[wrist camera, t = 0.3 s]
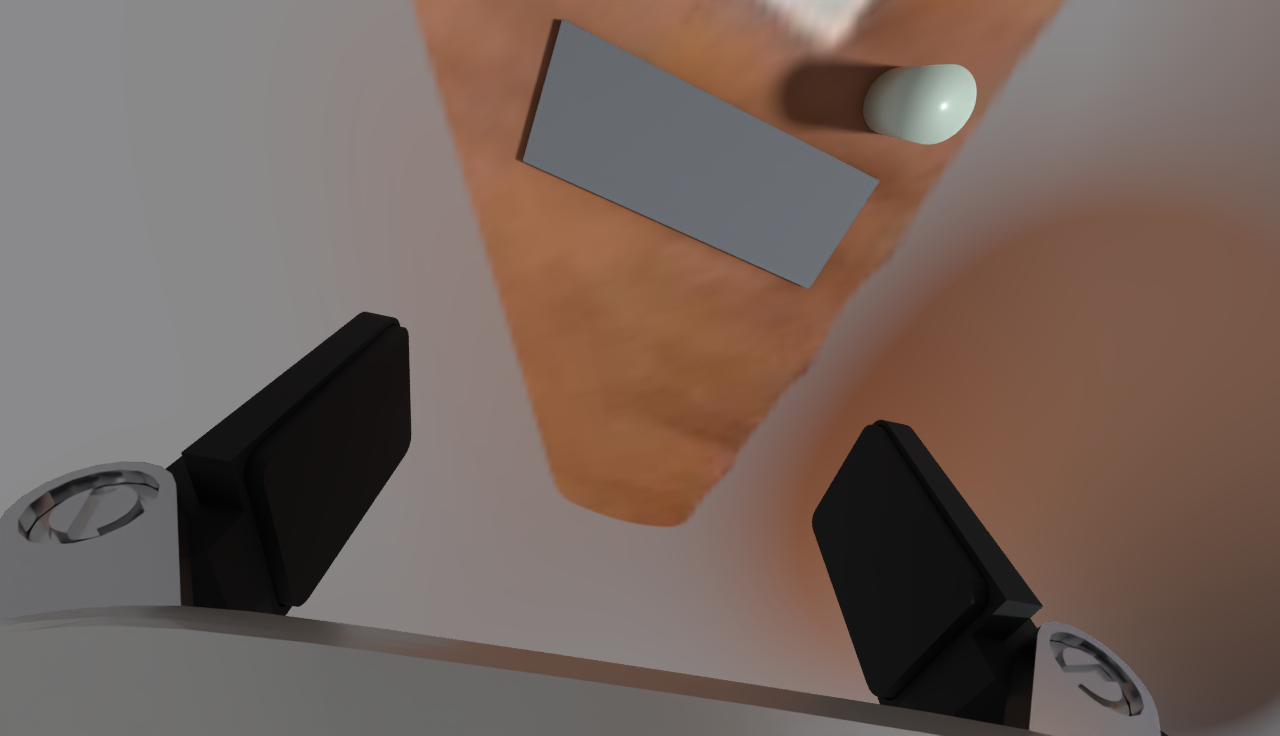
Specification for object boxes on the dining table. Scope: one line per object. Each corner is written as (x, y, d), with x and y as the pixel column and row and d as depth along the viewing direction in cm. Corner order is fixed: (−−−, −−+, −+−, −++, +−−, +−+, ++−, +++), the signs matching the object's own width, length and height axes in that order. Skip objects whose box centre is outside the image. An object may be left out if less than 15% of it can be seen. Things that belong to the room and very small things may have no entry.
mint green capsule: (888, 55, 31) (934, 50, 26) (938, 83, 32) (992, 84, 27) (850, 119, 33) (886, 126, 28) (898, 144, 34) (942, 156, 28)
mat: (563, 19, 31) (562, 18, 30) (876, 179, 35) (879, 180, 34) (524, 159, 35) (522, 161, 34) (806, 286, 39) (808, 289, 39)
